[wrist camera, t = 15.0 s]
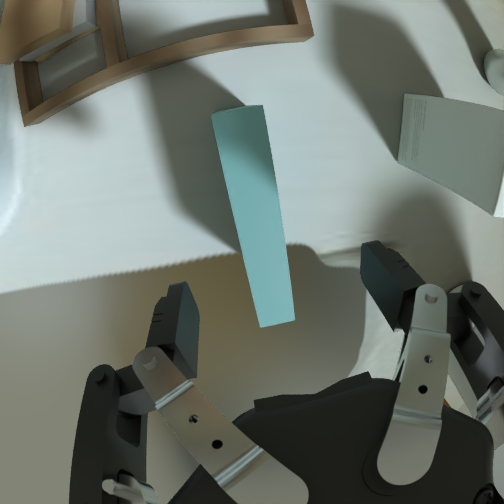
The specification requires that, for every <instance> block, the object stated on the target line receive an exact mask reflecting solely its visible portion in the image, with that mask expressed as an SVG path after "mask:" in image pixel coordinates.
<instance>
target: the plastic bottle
mask: <svg viewBox="0 0 504 504" xmlns="http://www.w3.org/2000/svg"><path fill="white" fill-rule="evenodd" d="M484 70H485V74H486V77H487V80H488V82H489V84H490V85H491V87H492V88H493V89H494V90H495V91H496V92H497V93H498V94H500V95H502V96H504V50H502V49H495V50H490V51H489V52H488V53H487V54H486V55H485V57H484Z"/></svg>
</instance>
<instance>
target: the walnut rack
mask: <svg viewBox="0 0 504 504" xmlns="http://www.w3.org/2000/svg"><path fill="white" fill-rule="evenodd" d="M282 1H283V5H284V9H285V13H286V17H287V21H288V25H277V26H265V27H255V28H247V29H240V30H234V31H228V32H222V33H217V34H212V35H207V36H202V37H198V38H194V39H190V40H186V41H182V42H178V43H175V44H171V45H168V46H165V47H161V48H158V49H155V50H152V51H149V52H146V53H143V54H141V55H138V56H135V57H133V58H130V59H128V57H127V51H126V46H125V41H124V35H123V29H122V23H121V16H120V9H119V2H118V0H97V6H98V15H99V23H100V30H101V37H102V43H103V49H104V55H105V61H106V66H107V68H106V69H104V70H102V71H99V72H97V73H95V74H93V75H91V76H89V77H87V78H85V79H83V80H81V81H79V82H77V83H76V84H74V85H72V86H70V87H68V88H66V89H65V90H63V91H61V92H60V93H58V94H56V95H54V96H53V97H51V98H50V99H48V100H46V101H45V102H43V98H42V92H41V87H40V80H39V74H38V66H37V61H35V60H34V61H33V62H29V61H19V59H18V60H16V61H15V62H14V69H15V78H16V85H17V92H18V98H19V104H20V109H21V114H22V119H23V124H24V127H26V126H30V125H34V124H38V123H41V122H42V121H44V120H45V119H47V118H49V117H50V116H52V115H54V114H55V113H57V112H59V111H61V110H62V109H64V108H66V107H68V106H70V105H71V104H73V103H75V102H77V101H79V100H81V99H83V98H85V97H87V96H89V95H91V94H93V93H95V92H97V91H100V90H102V89H104V88H106V87H109V86H111V85H113V84H116V83H118V82H120V81H123V80H125V79H128V78H131V77H133V76H136V75H139V74H141V73H144V72H147V71H150V70H153V69H156V68H159V67H162V66H165V65H169V64H172V63H175V62H179V61H183V60H186V59H190V58H194V57H198V56H203V55H207V54H212V53H216V52H221V51H227V50H232V49H238V48H245V47H252V46H259V45H268V44H279V43H293V42H305V41H307V40H308V39H310V38H311V37H313V36H314V33H313V28H312V24H311V20H310V16H309V12H308V8H307V5H306V1H305V0H282Z"/></svg>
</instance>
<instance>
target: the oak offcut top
mask: <svg viewBox="0 0 504 504" xmlns="http://www.w3.org/2000/svg"><path fill="white" fill-rule="evenodd" d="M74 5H75V0H5V4H4V8H3V13H2V18H1V24H0V64H11V63H13V62H15V61H16V60H18V59H19V58H21V57H23V56H25V55H26V54H28V53H30V52H32V51H34V50H36V49H37V48H39V47H41V46H43V45H45V44H47V43H49V42H51V41H54V40H56V39H58V38H60V37H62V36H65V35H67V34H69V33H72V26H73V14H74Z"/></svg>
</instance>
